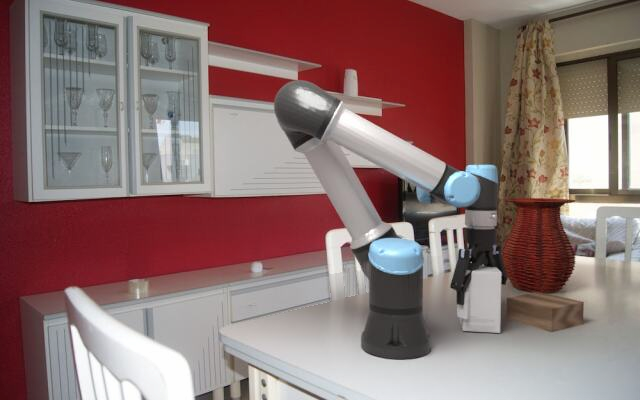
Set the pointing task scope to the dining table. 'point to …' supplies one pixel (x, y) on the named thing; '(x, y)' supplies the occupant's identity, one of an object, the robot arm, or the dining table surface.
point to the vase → (538, 246)
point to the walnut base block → (545, 311)
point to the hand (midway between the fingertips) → (479, 313)
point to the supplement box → (484, 301)
